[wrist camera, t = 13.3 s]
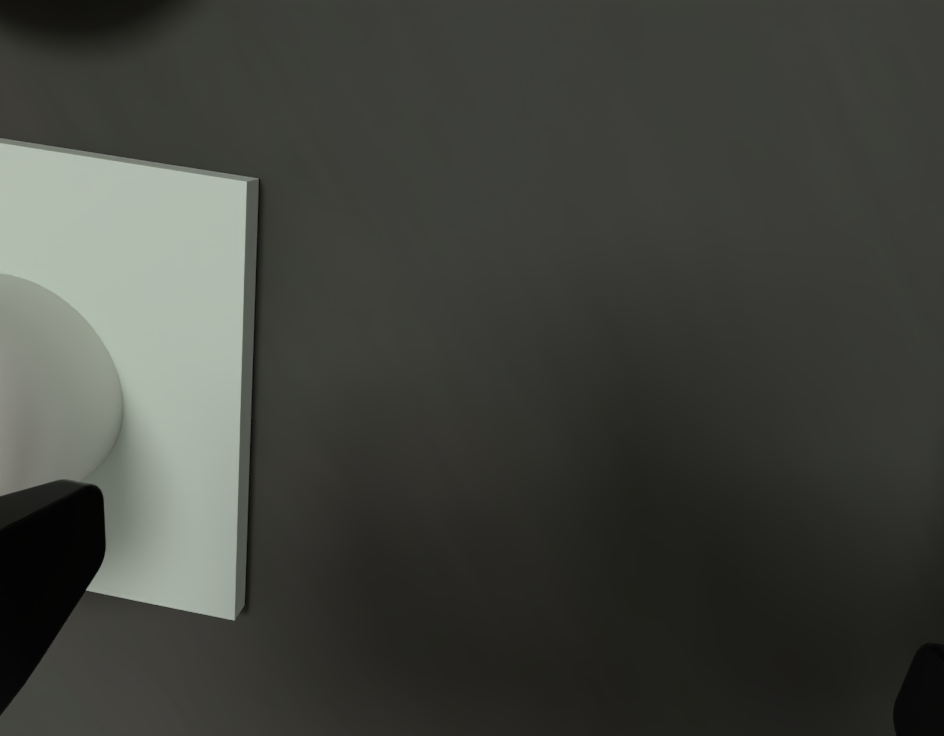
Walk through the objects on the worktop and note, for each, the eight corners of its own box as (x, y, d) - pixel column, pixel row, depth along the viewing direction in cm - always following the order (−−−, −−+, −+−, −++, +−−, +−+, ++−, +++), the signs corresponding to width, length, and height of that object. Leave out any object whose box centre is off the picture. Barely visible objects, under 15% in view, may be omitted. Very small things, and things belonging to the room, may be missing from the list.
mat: (259, 178, 20) (247, 181, 20) (244, 605, 25) (234, 620, 24) (-219, 103, 21) (-248, 104, 21) (-143, 527, 26) (-164, 539, 26)
